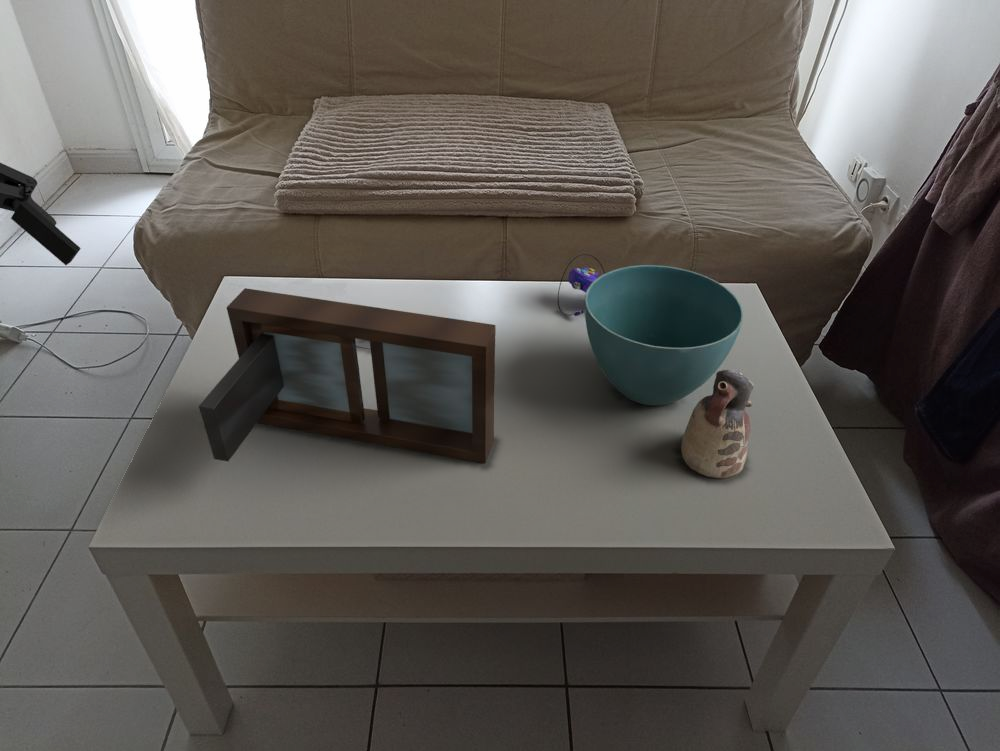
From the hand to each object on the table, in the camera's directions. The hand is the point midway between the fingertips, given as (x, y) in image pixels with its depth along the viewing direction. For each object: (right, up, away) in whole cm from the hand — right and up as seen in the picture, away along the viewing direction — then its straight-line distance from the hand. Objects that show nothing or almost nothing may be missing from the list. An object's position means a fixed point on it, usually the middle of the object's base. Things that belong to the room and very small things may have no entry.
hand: (24, 291), depth 71 cm
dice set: (+30, -2, +32) cm, 44 cm away
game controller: (+59, +1, +37) cm, 70 cm away
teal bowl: (+64, -9, +24) cm, 69 cm away
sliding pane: (+23, -16, +11) cm, 30 cm away
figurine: (+69, -17, +14) cm, 73 cm away
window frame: (+30, -14, +16) cm, 37 cm away
